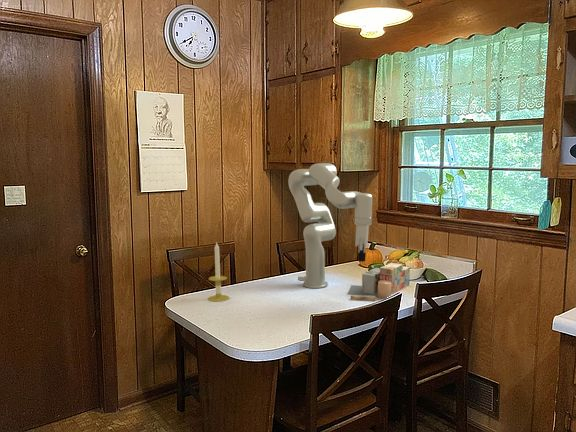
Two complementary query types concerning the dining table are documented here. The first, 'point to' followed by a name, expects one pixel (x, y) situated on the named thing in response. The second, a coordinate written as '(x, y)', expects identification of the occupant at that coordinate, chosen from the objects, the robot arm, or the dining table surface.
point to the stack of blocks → (395, 276)
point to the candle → (218, 279)
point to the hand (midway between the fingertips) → (361, 260)
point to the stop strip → (363, 298)
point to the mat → (358, 291)
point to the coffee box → (370, 281)
